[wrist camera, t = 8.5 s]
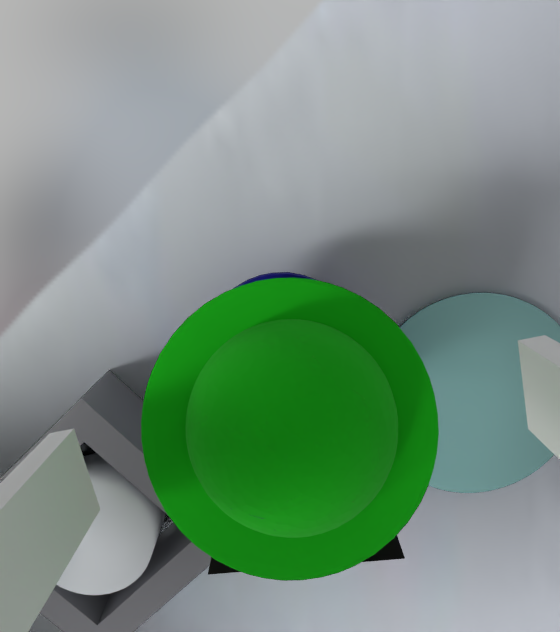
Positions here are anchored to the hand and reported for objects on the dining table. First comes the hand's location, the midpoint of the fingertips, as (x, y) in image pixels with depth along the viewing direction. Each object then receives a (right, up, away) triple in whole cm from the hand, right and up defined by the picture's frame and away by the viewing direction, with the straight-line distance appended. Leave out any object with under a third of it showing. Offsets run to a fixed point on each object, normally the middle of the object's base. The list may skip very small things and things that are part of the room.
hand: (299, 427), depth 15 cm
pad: (+10, -1, +13) cm, 16 cm away
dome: (-10, -7, +13) cm, 17 cm away
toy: (0, +3, +12) cm, 12 cm away
